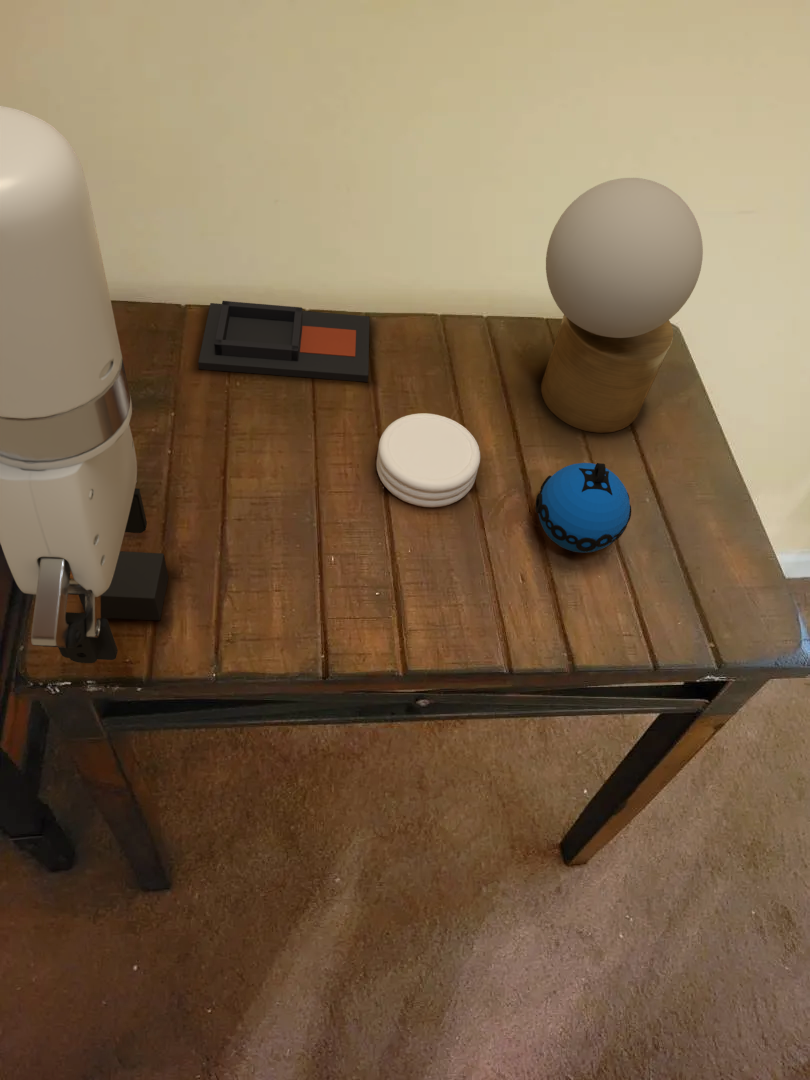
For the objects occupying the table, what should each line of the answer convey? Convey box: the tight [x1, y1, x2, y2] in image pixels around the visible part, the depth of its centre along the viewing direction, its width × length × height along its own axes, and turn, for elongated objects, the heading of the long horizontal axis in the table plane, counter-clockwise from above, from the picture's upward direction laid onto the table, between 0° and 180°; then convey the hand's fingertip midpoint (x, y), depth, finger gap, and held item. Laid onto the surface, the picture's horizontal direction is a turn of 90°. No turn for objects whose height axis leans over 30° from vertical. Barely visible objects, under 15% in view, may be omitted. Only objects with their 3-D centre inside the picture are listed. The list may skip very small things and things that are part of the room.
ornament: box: [534, 462, 632, 554], centre depth 75 cm, size 9×9×10 cm
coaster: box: [375, 412, 481, 508], centre depth 81 cm, size 10×10×4 cm
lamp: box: [540, 177, 704, 434], centre depth 81 cm, size 15×14×25 cm
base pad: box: [197, 300, 370, 383], centre depth 90 cm, size 18×10×2 cm, turn 91°
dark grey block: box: [78, 550, 169, 621], centre depth 68 cm, size 6×4×4 cm
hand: (107, 587), depth 53 cm, fingers open, 9 cm apart
